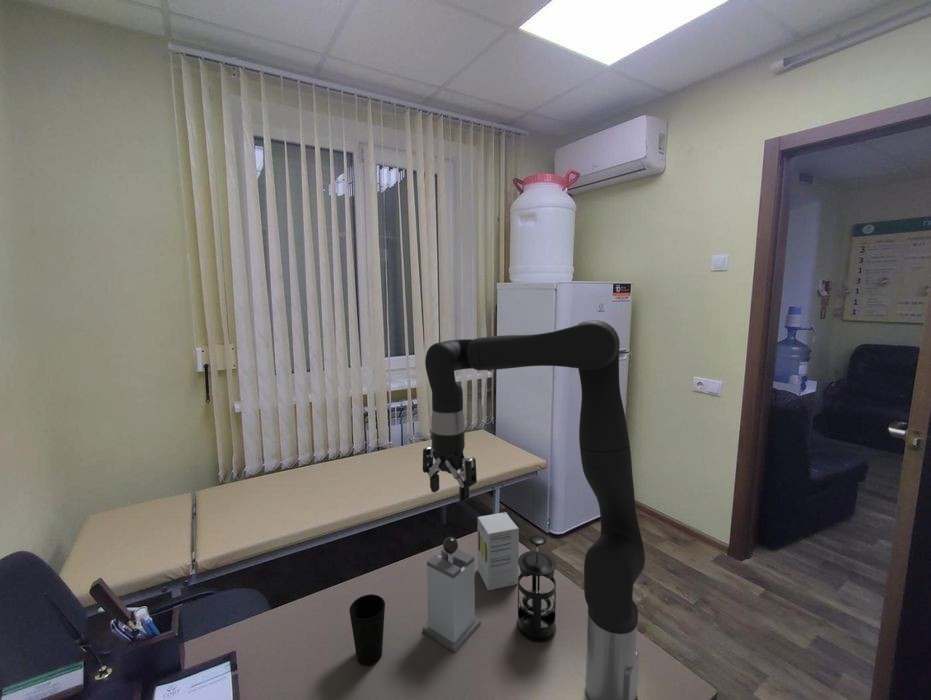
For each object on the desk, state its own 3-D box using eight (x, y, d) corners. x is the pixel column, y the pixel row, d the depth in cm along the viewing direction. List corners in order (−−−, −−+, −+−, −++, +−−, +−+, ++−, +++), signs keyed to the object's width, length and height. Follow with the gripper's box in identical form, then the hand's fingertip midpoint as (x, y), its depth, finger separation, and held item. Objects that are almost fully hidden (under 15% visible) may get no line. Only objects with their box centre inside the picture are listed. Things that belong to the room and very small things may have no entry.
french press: (557, 646, 94) (559, 553, 91) (516, 642, 95) (517, 550, 92) (553, 608, 105) (555, 524, 102) (517, 605, 107) (517, 522, 104)
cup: (351, 674, 87) (349, 623, 86) (351, 645, 95) (349, 597, 93) (388, 665, 89) (386, 615, 88) (385, 637, 97) (383, 591, 95)
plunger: (468, 601, 99) (467, 536, 97) (453, 615, 95) (452, 548, 93) (449, 591, 103) (448, 528, 101) (434, 604, 98) (432, 539, 96)
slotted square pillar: (480, 624, 100) (480, 556, 98) (455, 652, 93) (454, 579, 90) (449, 606, 106) (447, 541, 104) (422, 631, 99) (420, 561, 96)
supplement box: (476, 569, 121) (476, 515, 119) (505, 563, 123) (505, 510, 121) (488, 591, 112) (488, 533, 109) (519, 584, 114) (519, 527, 112)
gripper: (483, 429, 92) (483, 498, 94) (435, 419, 101) (436, 482, 103) (462, 439, 86) (463, 512, 88) (413, 427, 95) (415, 493, 97)
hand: (449, 495), depth 95 cm, fingers open, 8 cm apart
